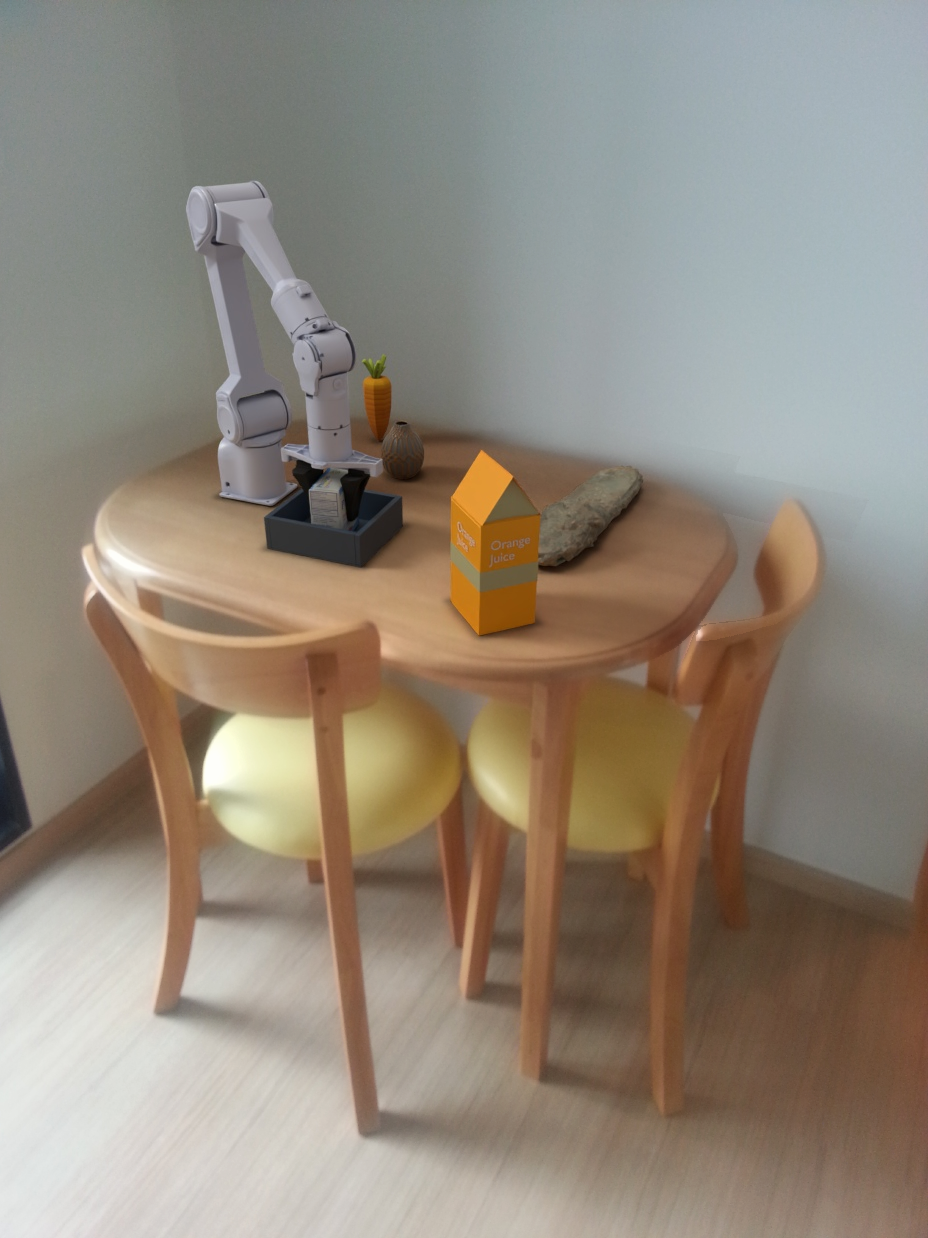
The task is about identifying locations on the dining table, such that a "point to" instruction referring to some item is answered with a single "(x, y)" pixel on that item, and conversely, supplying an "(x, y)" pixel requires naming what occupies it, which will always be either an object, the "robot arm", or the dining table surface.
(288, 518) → the basket
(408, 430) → the vase
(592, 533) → the elongated rock
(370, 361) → the carrot
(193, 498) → the dining table surface
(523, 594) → the orange juice
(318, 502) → the medicine box
